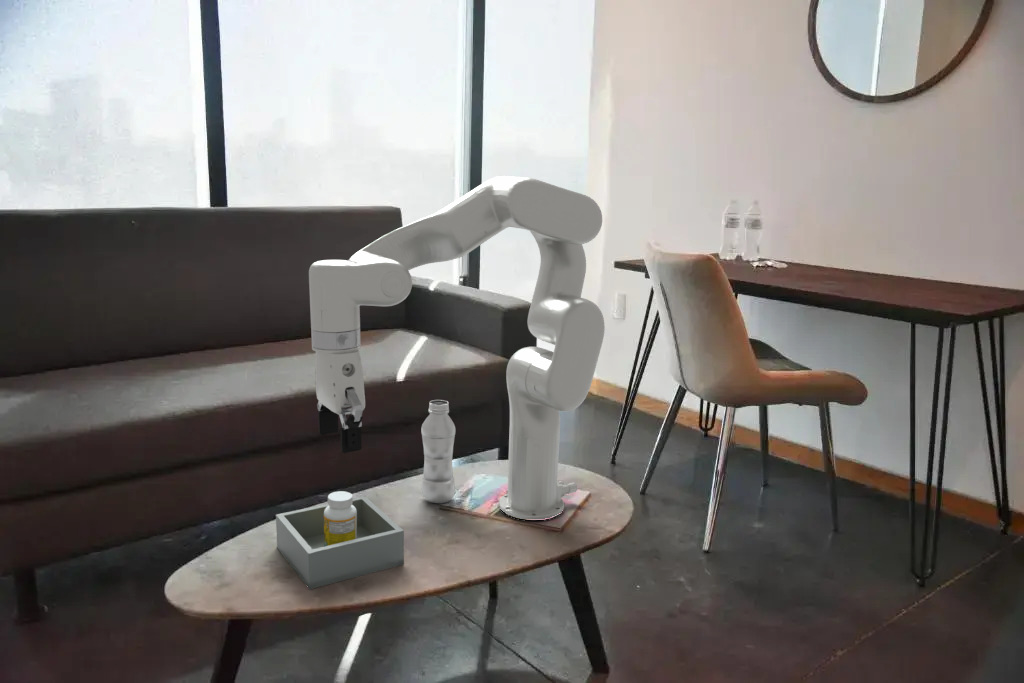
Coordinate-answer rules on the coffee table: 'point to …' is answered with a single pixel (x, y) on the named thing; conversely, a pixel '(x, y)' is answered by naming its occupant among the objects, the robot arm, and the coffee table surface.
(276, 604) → the coffee table surface
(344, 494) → the supplement bottle
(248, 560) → the coffee table surface
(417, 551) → the coffee table surface
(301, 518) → the tote
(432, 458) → the plastic bottle
